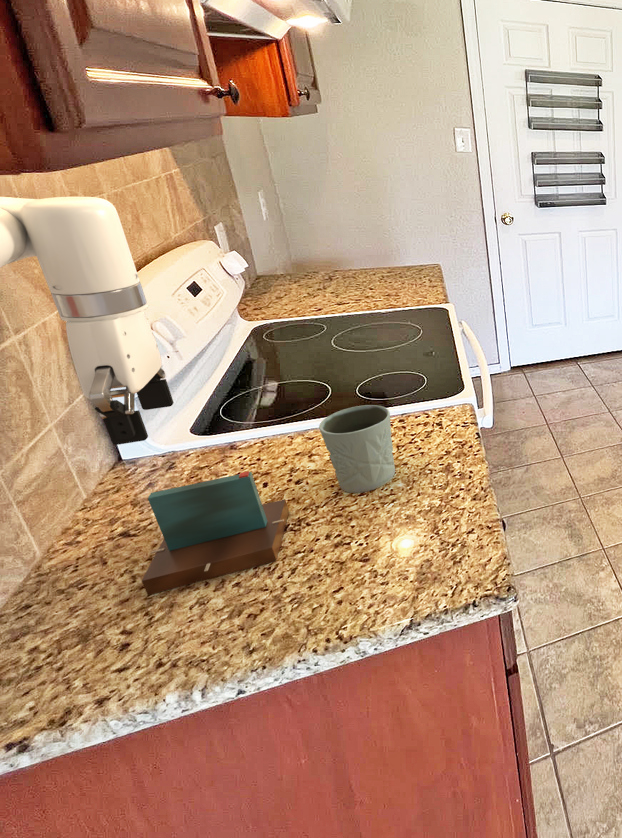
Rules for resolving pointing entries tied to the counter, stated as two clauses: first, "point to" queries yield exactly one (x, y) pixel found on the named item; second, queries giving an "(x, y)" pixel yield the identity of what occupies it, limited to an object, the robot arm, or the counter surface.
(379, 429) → the drinking glass
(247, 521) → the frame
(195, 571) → the frame stand
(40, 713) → the counter surface
